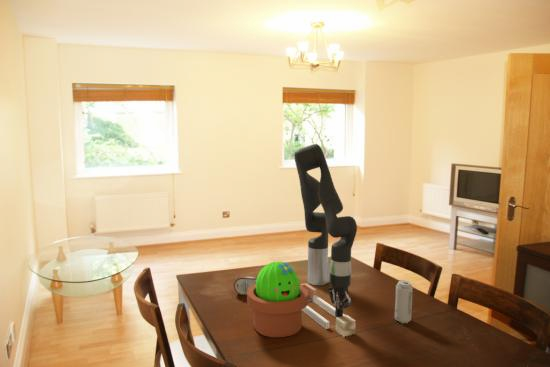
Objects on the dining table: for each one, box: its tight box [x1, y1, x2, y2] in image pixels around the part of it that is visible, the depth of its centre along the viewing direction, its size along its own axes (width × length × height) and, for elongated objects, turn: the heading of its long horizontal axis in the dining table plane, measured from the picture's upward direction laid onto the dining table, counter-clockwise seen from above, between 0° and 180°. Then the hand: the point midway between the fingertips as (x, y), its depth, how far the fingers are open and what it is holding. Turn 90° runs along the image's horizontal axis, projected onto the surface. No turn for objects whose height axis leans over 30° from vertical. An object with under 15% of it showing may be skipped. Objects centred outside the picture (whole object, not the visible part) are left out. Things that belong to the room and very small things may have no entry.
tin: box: [233, 274, 258, 296], centre depth 187 cm, size 15×3×8 cm, turn 84°
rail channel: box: [300, 282, 346, 330], centre depth 172 cm, size 10×31×5 cm, turn 26°
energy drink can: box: [394, 279, 414, 324], centre depth 162 cm, size 6×6×15 cm
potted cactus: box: [246, 260, 309, 338], centre depth 157 cm, size 22×22×25 cm
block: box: [335, 314, 356, 338], centre depth 154 cm, size 5×5×5 cm
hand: (338, 317), depth 157 cm, fingers closed
